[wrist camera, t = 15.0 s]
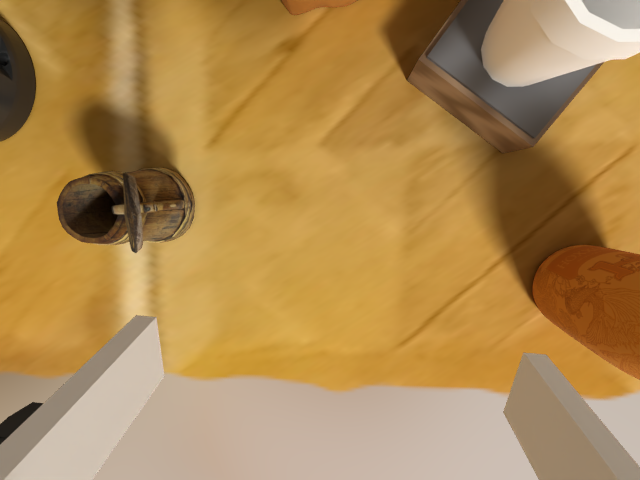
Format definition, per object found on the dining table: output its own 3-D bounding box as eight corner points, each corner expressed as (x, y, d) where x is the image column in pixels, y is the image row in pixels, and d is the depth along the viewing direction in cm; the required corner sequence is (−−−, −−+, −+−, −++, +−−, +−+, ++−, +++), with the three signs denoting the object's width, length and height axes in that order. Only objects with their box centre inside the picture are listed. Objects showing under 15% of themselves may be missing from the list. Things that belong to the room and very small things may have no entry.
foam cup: (455, 4, 28) (542, -146, 16) (570, -27, 27) (765, -215, 15) (471, 117, 30) (564, 64, 17) (582, 92, 29) (770, 15, 16)
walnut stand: (407, 80, 36) (419, 57, 29) (476, -15, 34) (505, -61, 27) (502, 153, 36) (535, 146, 30) (576, 63, 34) (628, 35, 28)
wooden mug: (234, 241, 40) (143, 284, 22) (128, 241, 41) (-37, 282, 24) (229, 165, 39) (129, 148, 21) (120, 168, 40) (-62, 154, 22)
